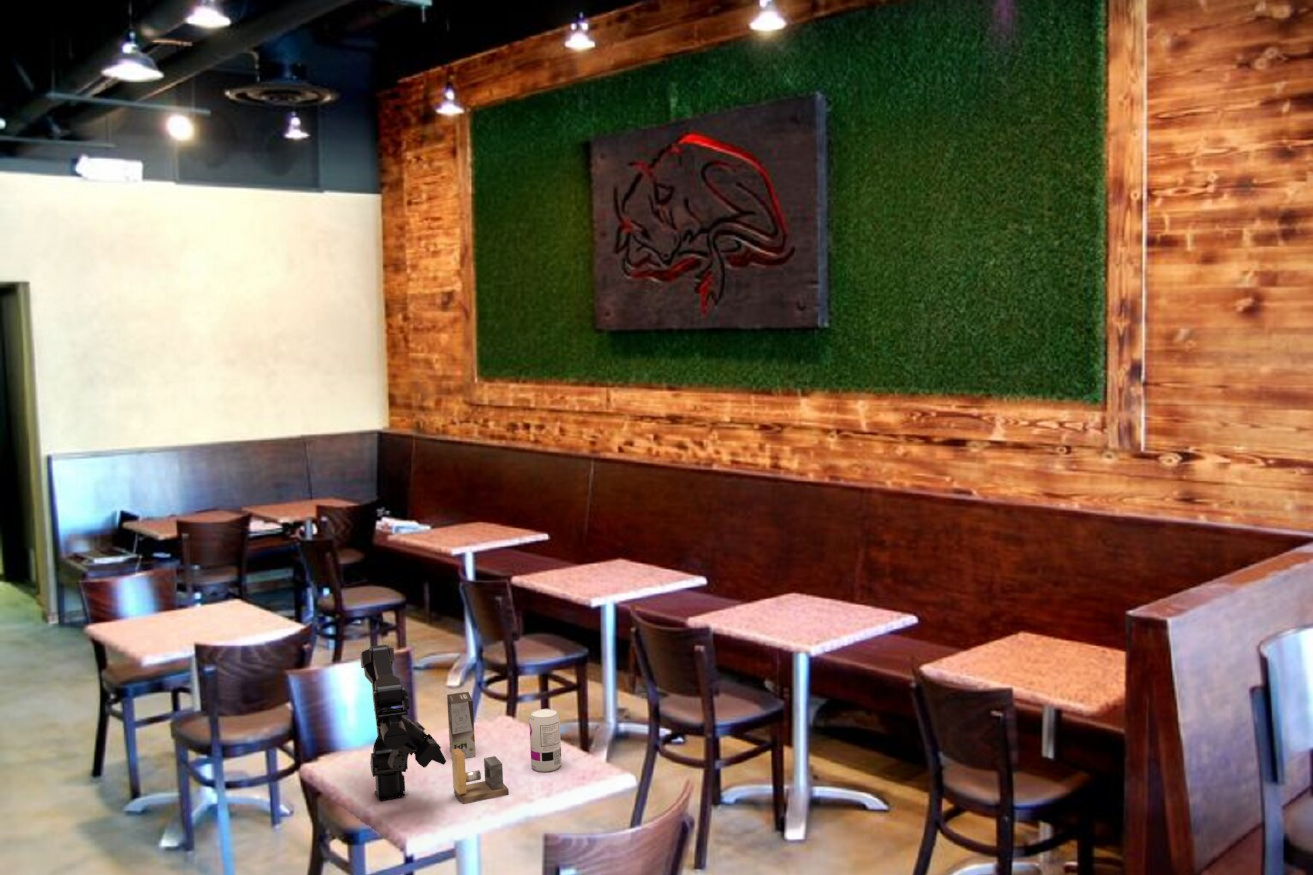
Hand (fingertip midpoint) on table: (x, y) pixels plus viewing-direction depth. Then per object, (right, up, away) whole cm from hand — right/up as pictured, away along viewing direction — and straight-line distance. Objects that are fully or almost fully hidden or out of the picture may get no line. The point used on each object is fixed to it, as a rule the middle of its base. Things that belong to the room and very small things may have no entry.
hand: (444, 762), depth 300 cm
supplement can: (+24, -7, +22) cm, 33 cm away
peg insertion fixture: (+9, -9, +5) cm, 14 cm away
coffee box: (-1, -7, +35) cm, 35 cm away
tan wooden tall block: (+5, -8, +3) cm, 10 cm away
